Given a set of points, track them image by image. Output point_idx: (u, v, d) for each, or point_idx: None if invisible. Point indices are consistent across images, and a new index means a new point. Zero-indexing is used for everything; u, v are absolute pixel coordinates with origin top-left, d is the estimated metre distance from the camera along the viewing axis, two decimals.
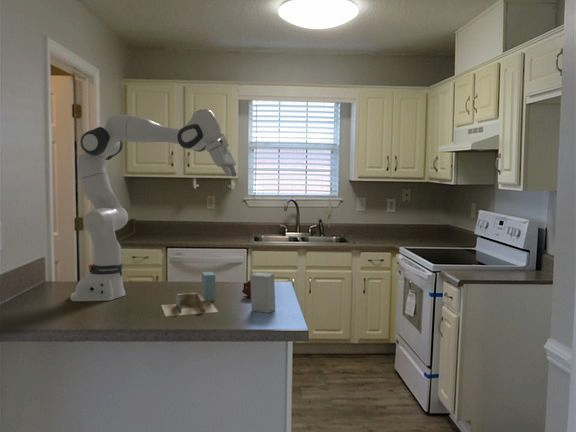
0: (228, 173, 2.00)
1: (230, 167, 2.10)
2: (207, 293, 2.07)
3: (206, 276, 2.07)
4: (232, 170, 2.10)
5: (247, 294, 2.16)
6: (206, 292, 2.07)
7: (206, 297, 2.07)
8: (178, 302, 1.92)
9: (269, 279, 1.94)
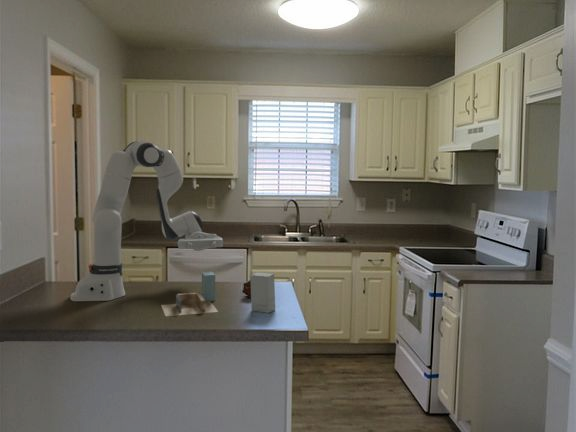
0: None
1: None
2: (207, 293, 2.07)
3: (206, 276, 2.07)
4: None
5: (247, 294, 2.16)
6: (206, 292, 2.07)
7: (206, 297, 2.07)
8: (178, 302, 1.92)
9: (269, 279, 1.94)
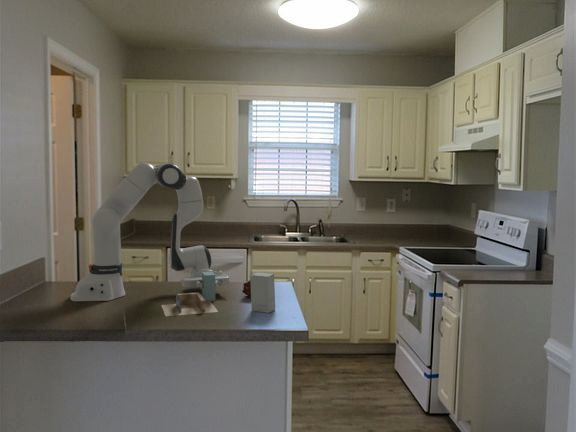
0: None
1: None
2: (207, 293, 2.07)
3: (206, 276, 2.06)
4: None
5: (247, 294, 2.16)
6: (206, 292, 2.07)
7: (206, 297, 2.07)
8: (178, 302, 1.92)
9: (269, 279, 1.94)
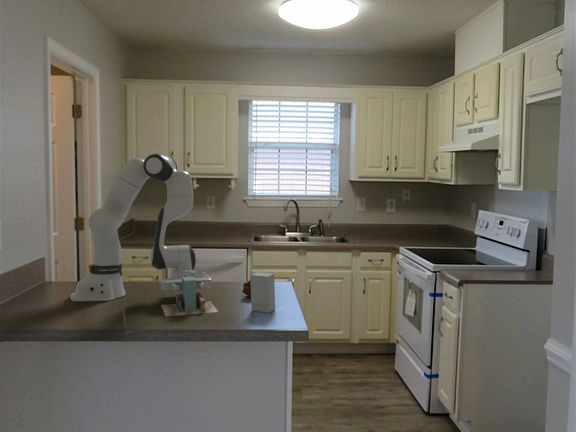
0: None
1: None
2: (187, 300, 1.93)
3: (186, 281, 1.92)
4: None
5: (247, 294, 2.16)
6: (186, 299, 1.92)
7: (186, 304, 1.93)
8: (178, 302, 1.92)
9: (269, 279, 1.94)
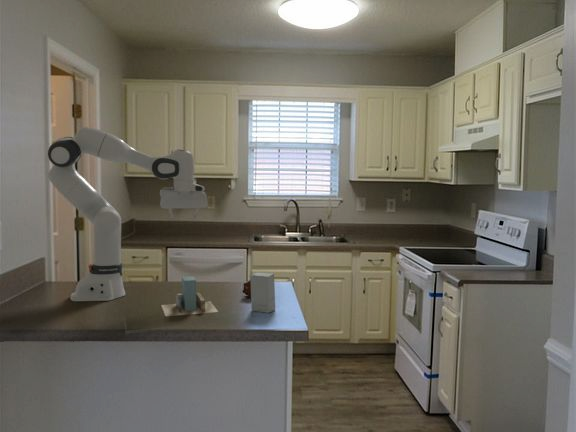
0: None
1: None
2: (187, 300, 1.93)
3: (186, 281, 1.92)
4: (171, 212, 2.16)
5: (247, 294, 2.16)
6: (186, 299, 1.92)
7: (186, 304, 1.93)
8: (178, 302, 1.92)
9: (269, 279, 1.94)
